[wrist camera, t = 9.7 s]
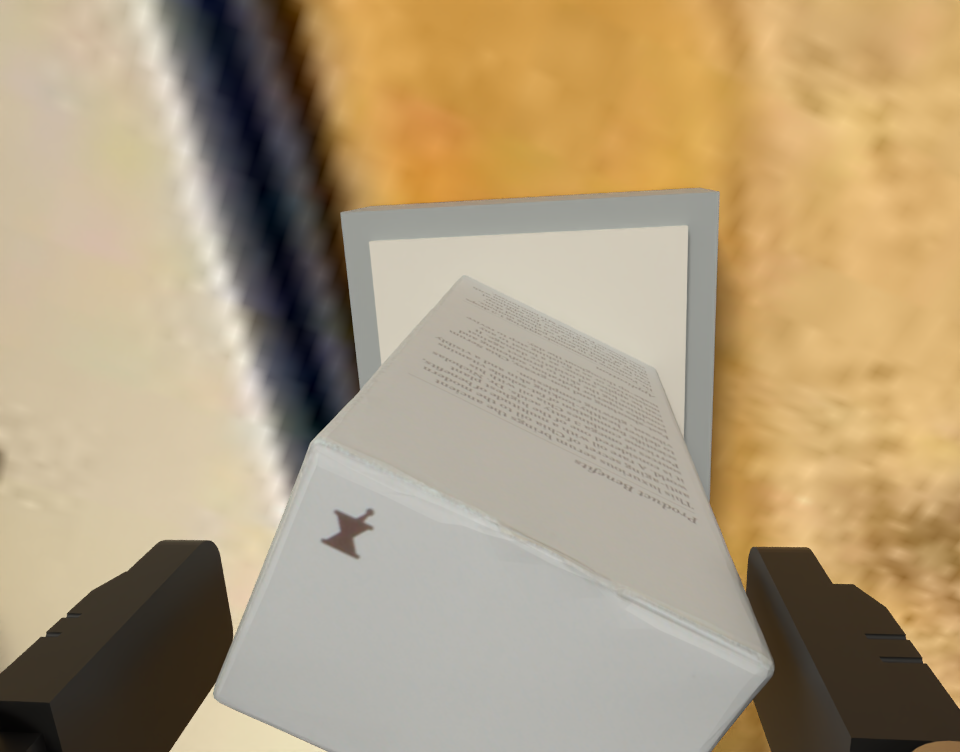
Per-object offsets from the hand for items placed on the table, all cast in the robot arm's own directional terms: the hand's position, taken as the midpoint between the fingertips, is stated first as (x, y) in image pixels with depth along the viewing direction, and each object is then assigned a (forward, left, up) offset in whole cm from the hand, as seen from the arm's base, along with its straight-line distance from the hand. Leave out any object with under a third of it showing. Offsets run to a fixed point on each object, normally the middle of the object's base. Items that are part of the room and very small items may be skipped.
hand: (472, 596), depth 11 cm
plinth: (0, 0, -13) cm, 13 cm away
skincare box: (0, 0, -10) cm, 10 cm away
